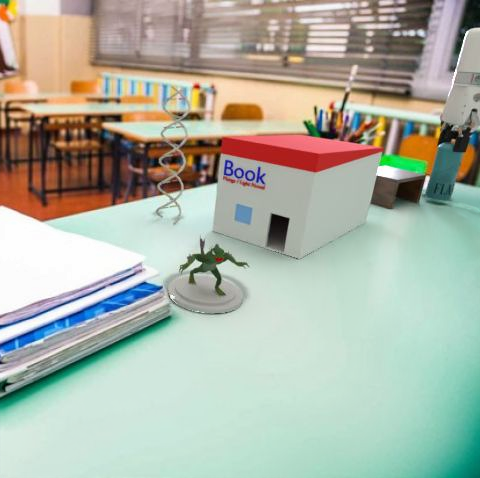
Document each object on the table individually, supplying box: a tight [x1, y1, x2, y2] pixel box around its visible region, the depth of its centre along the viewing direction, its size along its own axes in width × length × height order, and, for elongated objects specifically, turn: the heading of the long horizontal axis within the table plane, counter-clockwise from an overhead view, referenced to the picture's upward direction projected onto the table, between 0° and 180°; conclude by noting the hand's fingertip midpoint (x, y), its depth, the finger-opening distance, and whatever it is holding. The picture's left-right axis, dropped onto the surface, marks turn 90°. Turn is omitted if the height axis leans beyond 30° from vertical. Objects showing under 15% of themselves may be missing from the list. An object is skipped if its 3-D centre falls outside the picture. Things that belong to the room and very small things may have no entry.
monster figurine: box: [167, 235, 250, 314], centre depth 79 cm, size 12×12×10 cm
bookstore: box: [212, 134, 385, 260], centre depth 110 cm, size 21×35×21 cm, turn 135°
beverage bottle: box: [424, 129, 464, 202], centre depth 135 cm, size 6×7×20 cm
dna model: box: [155, 85, 192, 225], centre depth 109 cm, size 7×6×30 cm
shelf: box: [370, 165, 427, 210], centre depth 137 cm, size 12×14×8 cm
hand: (450, 148), depth 133 cm, fingers closed on beverage bottle, 6 cm apart
